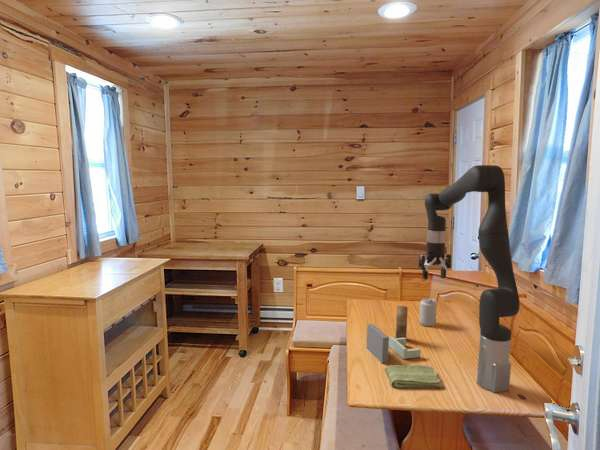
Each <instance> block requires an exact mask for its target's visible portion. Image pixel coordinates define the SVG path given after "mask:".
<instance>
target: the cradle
mask: <svg viewBox="0 0 600 450" xmlns="http://www.w3.org/2000/svg"><path fill="white" fill-rule="evenodd" d="M388 337H389V348H390V349H392V350H393V352H395V353H396V354H397V355H398V356H399V357H401V358H402V359H403V360H406V359H414V358H415V359H416V358H421V351H422V350H421V349H420V348H409V349H407V347H405V346H407V337H406V338H396V337H393V336H392V335H391V336H388Z"/></svg>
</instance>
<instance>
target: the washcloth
mask: <svg viewBox="0 0 600 450" xmlns="http://www.w3.org/2000/svg"><path fill="white" fill-rule="evenodd" d="M384 371H385V374H386V376H387V378H388V379H389V384H390V386H391V387H392V388H398V389H409V388H410V389H420V388H422V389H424V388H434V389H435V388H436V389H437V388H443V387H444V386H443V385H444V384H443V383H442V382H441V379H440V376H438V374H437V371H435V369H434V367H432V366H429V365H422V364H416V365H415V364H413V365H412V364H410V365H409V364H408V365H404V364H403V365H400V364H394V365H393V364H390V365H386V366H384Z"/></svg>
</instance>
